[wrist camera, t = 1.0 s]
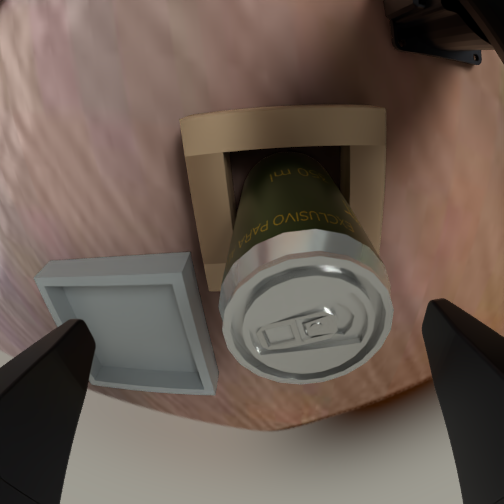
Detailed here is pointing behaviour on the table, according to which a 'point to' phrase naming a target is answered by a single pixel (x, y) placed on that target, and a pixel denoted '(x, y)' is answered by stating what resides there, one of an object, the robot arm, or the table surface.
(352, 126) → the tan holder
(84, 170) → the table surface
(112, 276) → the grey tray
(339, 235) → the beer can
